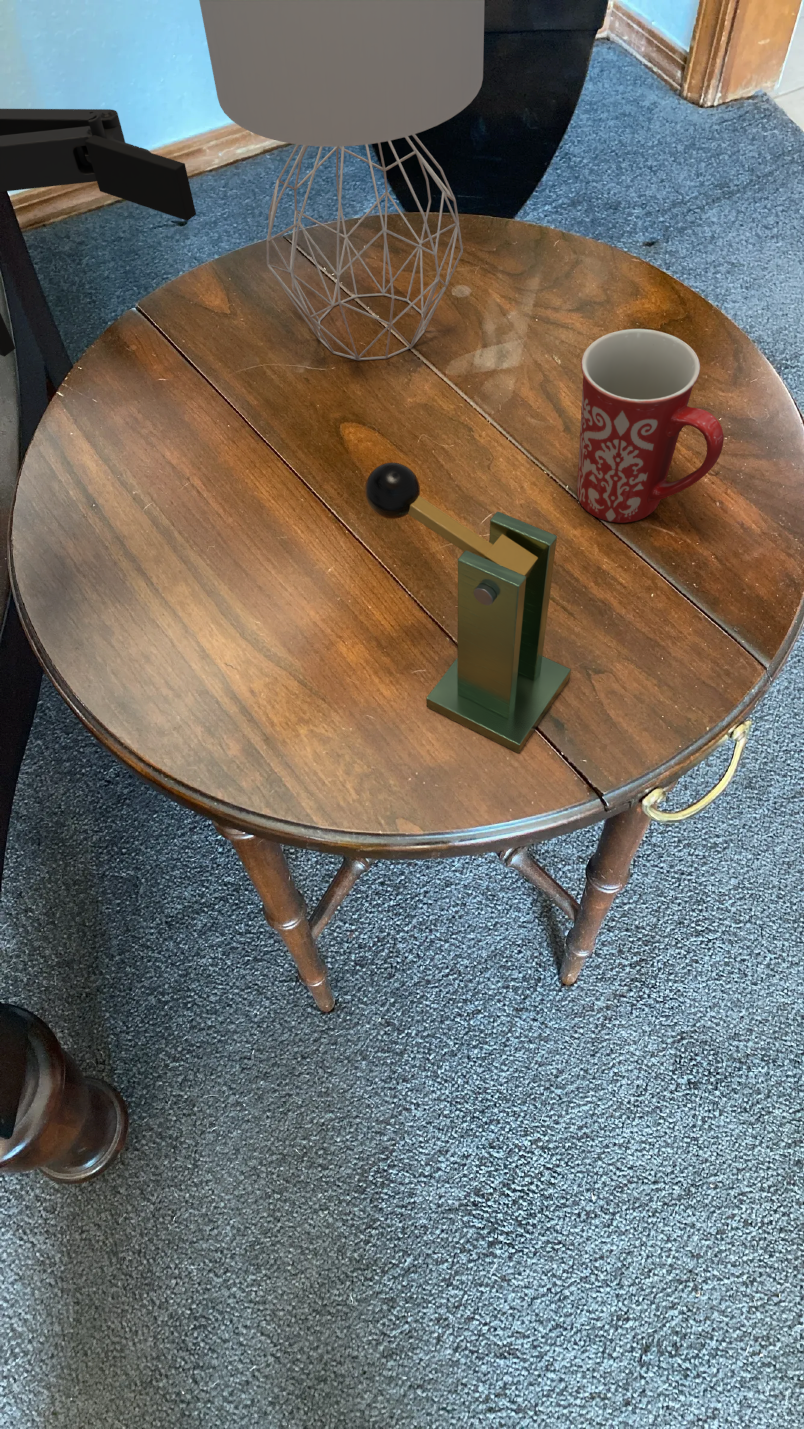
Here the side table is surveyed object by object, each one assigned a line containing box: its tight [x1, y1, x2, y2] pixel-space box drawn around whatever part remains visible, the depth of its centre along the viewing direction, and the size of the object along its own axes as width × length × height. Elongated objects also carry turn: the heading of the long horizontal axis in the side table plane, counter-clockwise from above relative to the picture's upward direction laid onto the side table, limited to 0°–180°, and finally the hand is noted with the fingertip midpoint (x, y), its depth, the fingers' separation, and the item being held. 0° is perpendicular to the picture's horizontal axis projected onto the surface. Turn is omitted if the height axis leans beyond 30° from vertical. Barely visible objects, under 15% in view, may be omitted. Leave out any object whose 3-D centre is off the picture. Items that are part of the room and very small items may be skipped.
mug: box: [576, 328, 725, 524], centre depth 79 cm, size 13×9×14 cm
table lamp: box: [198, 0, 485, 362], centre depth 84 cm, size 22×22×40 cm
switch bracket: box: [425, 511, 572, 754], centre depth 68 cm, size 8×8×16 cm
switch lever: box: [364, 462, 538, 579], centre depth 63 cm, size 12×4×4 cm, turn 57°
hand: (99, 256), depth 49 cm, fingers open, 13 cm apart
